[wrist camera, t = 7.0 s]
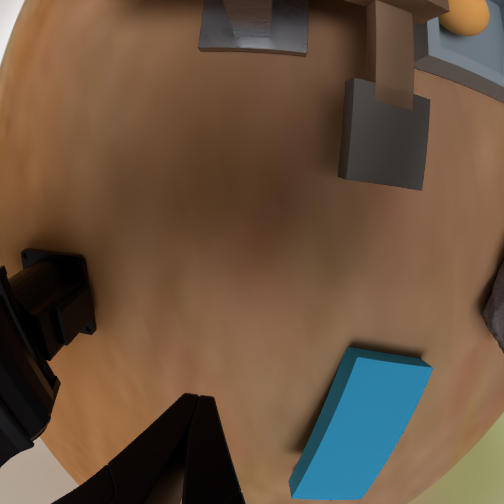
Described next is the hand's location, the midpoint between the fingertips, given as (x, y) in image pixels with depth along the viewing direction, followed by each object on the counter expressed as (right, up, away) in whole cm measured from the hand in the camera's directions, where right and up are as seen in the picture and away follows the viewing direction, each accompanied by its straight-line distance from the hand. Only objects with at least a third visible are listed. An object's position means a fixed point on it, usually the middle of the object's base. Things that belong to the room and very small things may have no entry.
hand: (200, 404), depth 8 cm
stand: (+2, +21, +5) cm, 22 cm away
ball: (+14, +19, +3) cm, 24 cm away
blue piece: (+9, -11, +17) cm, 22 cm away
